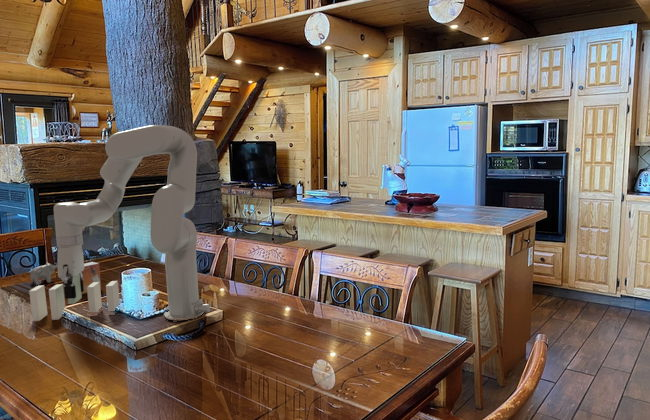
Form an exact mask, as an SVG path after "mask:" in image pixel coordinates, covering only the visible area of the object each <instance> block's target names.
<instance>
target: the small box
mask: <svg viewBox="0 0 650 420" xmlns="http://www.w3.org/2000/svg"><path fill="white" fill-rule="evenodd" d="M82 275H83V286H84V291H83V292H81V295H84V294H87V287H88V286H89V285H90V284H92V283H93V282H100V291H101V290H102V284H101V283H102V281H101V271H100V263H99V262H95V261H90V262H84V270H83V274H82Z"/></svg>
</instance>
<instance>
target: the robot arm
mask: <svg viewBox="0 0 650 420" xmlns="http://www.w3.org/2000/svg"><path fill="white" fill-rule="evenodd" d="M104 149H105V152H106V155H107V156H108V158H107V159H106V160H105V162H104V163H103V165H102V167H101V168H100V169H99V174H100V177H101V178H102V179H103V180H104V184H103V187H102V189H101V191H100V193H98V195H97V197H96V199H95V200H90V201H85V202H80V203H78V202H75V201H65V202H64V201H63V202H58V203H55V204H54V205H53V217H54V227H55V228H54V229H55V240H56V247H57V257H56V258H57V262H56V263H57V265H58V267H57V276H58V278H59V279H60V280H61V282H62V284H63V289H64V299H67V300H68V299H70V298H76V288H75V286H74V277H75V276H76V275H78V274H79V275H80V286H81V292H83V291H84V286H83V275H82V274H83V270H84V264H85V261H84V259H85V258H84V252H83V247H82V246H83V245H84V239H83V227H91V226H94V225H97V224H100V223H101V224H102V223H104V222H106V221H108V220H109V219H110V218H111V217H112V216H113V215H114V214H115V213H116V211H117V209H118V207H119V206H120V204H121V203H122V201H123V198H124V195H125V192H126V185H127V183H128V182H129V180H130V179H131V177H132V175H133V173H134V172H135V170H136V169H137V168H138V166H139V165H140V163H141V161H142V160H143V159H144V158H145V157H151V156H155V155H167V154H168V155H170V159H169V163H168V167H167V181H166V185H165V186H162V187H160V188H159V189H158V190H157V191H156V192H155V194H154V196H153V197H152V202H151V211H150V212H151V215H150V235H149V236H150V241H151V244H152V246H153V248H154V249H155V250H156V251H157V252H159V253H161V254H164V255H165V256H164V258H165V259H164V266H165V277H166V278H165V279H166V280H165V281H166V291H167V292H166V294H167V305H168V306H167V307H168V310H169V311H168V312H166V311H165V312H164V313H163V317H164V316H165V317H166V318H168V319H175V320H176V319H189V318H193V317H197V316H200V315H202V314H203V313H204V312H205V313H210V310H211V306H210V303H203V299H200V296H199V284H198V268H197V241H198V240H197V238H198V236H197V235H198V234H197V233H198V232H197V228H196V226H195V223H194V222H193V221H192V220H191V219H189V218H187V217H184V214H186V213H188V212H190V211H191V210H192V209H193V208H194V206H195V203H196V190H197V189H196V185H197V167H198V165H197V164H198V150H197V145H196V143H195V141H194V139H193V138H192V137H191V135H190V134H188V132H186V131H185V130H183V129H181V128H178V127H176V126H172V125H162V124H152V125H146V126H142V127H136V128H133V129H129V130H124V131H118V132H115V133H113V134H111V135H110V136H109V137H108V138H107V140H106V142H105V147H104ZM68 274H71V276H68ZM67 276H68V277H67ZM68 279H71V281H70V280H68ZM205 313H204V314H205ZM204 314H203V315H204ZM203 315H202V316H203Z"/></svg>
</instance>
